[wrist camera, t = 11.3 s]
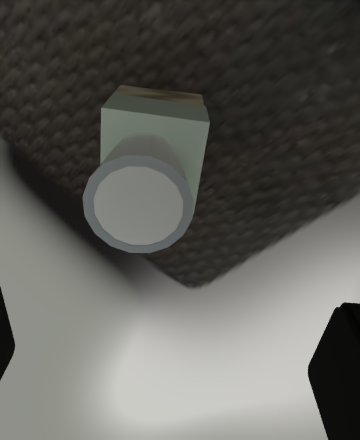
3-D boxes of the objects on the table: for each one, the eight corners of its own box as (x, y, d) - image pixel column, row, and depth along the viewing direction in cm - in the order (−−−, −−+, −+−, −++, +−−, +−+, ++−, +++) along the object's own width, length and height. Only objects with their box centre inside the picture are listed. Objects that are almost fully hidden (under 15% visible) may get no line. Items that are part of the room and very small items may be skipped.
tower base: (201, 94, 34) (204, 106, 30) (191, 169, 38) (192, 189, 34) (120, 84, 33) (111, 95, 29) (119, 161, 38) (110, 180, 33)
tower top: (206, 106, 30) (209, 122, 25) (192, 188, 34) (193, 214, 30) (113, 93, 29) (101, 107, 25) (110, 178, 33) (100, 203, 29)
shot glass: (157, 220, 30) (154, 270, 23) (86, 177, 27) (62, 220, 21) (206, 157, 27) (216, 196, 21) (131, 105, 25) (119, 131, 19)
